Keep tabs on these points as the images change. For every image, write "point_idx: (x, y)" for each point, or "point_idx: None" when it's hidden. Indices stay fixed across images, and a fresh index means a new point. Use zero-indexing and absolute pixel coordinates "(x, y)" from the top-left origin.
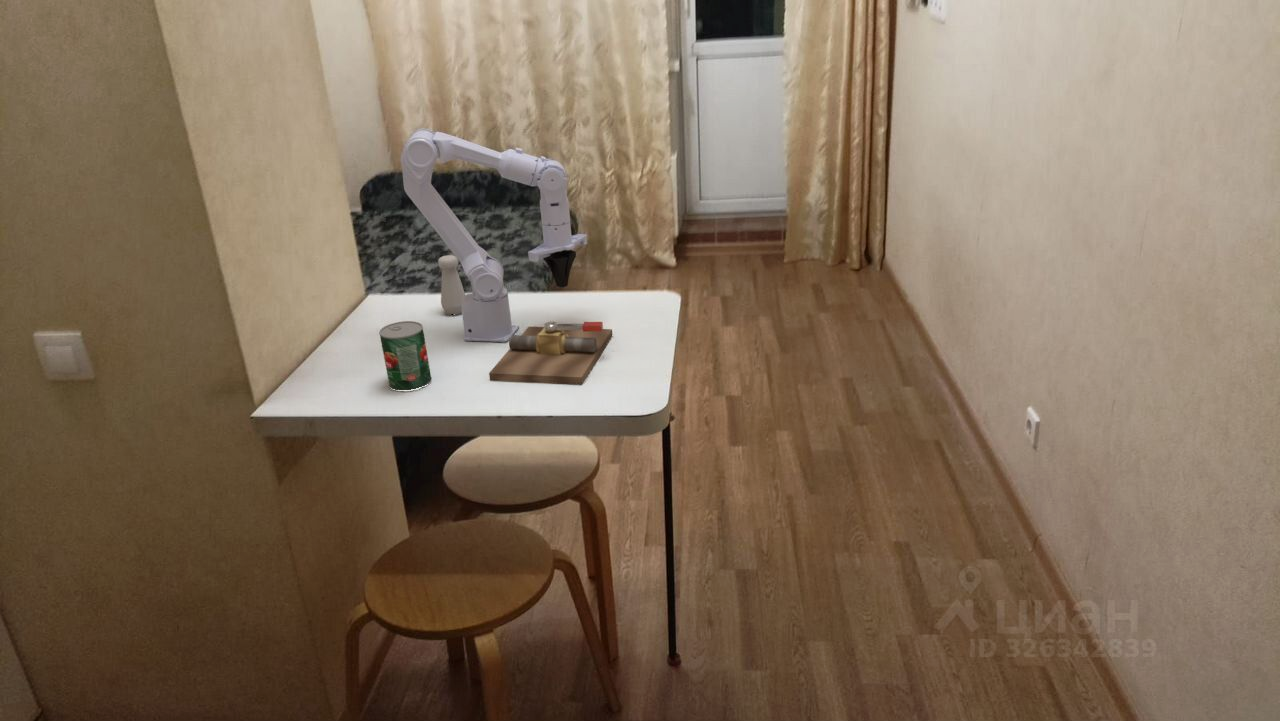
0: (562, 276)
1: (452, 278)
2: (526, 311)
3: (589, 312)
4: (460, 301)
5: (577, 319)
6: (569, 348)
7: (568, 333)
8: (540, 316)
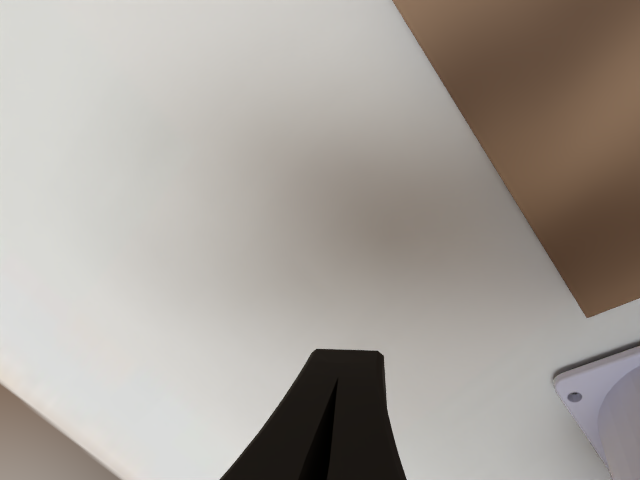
0: (390, 443)
1: None
2: None
3: (144, 243)
4: None
5: (252, 223)
6: None
7: (540, 9)
8: None
